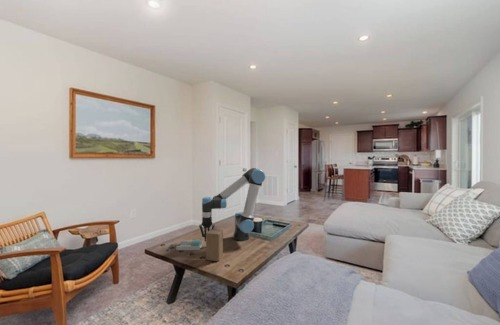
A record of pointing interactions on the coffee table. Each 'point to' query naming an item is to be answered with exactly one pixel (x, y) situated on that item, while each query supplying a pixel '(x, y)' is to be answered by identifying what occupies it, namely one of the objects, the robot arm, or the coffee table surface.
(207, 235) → the wooden block
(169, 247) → the mat
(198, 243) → the teal block
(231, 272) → the coffee table surface
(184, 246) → the chute
